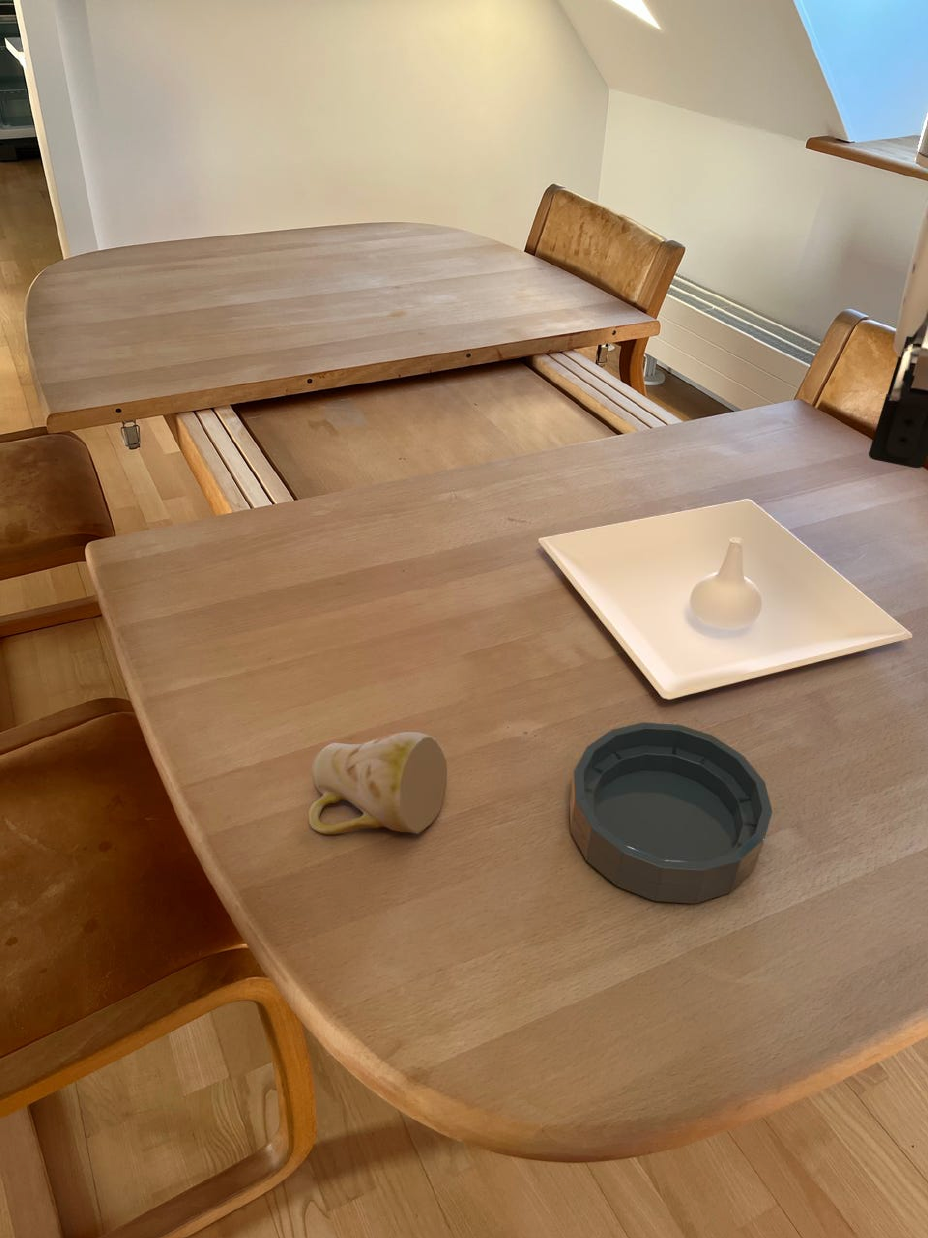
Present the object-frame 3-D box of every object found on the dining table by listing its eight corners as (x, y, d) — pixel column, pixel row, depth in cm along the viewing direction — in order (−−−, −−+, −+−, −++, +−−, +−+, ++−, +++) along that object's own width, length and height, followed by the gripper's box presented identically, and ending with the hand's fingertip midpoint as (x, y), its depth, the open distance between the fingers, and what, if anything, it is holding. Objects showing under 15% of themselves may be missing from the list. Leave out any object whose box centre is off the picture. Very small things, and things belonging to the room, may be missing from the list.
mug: (331, 751, 75) (392, 673, 69) (418, 838, 73) (487, 764, 68) (273, 796, 69) (335, 713, 63) (367, 891, 67) (438, 814, 62)
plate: (746, 512, 106) (750, 496, 104) (908, 652, 86) (916, 634, 85) (535, 553, 98) (536, 536, 97) (661, 716, 79) (665, 698, 77)
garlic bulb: (720, 645, 83) (738, 570, 78) (673, 607, 87) (688, 535, 82) (771, 624, 86) (792, 551, 81) (723, 589, 90) (740, 517, 85)
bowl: (775, 796, 72) (787, 760, 69) (733, 937, 62) (746, 900, 60) (605, 737, 76) (610, 701, 74) (541, 860, 67) (545, 823, 64)
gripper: (1081, 175, 43) (958, 503, 53) (1070, 121, 55) (972, 395, 66) (907, 158, 45) (821, 474, 56) (934, 110, 58) (860, 375, 68)
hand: (903, 431), depth 61 cm, fingers open, 9 cm apart
